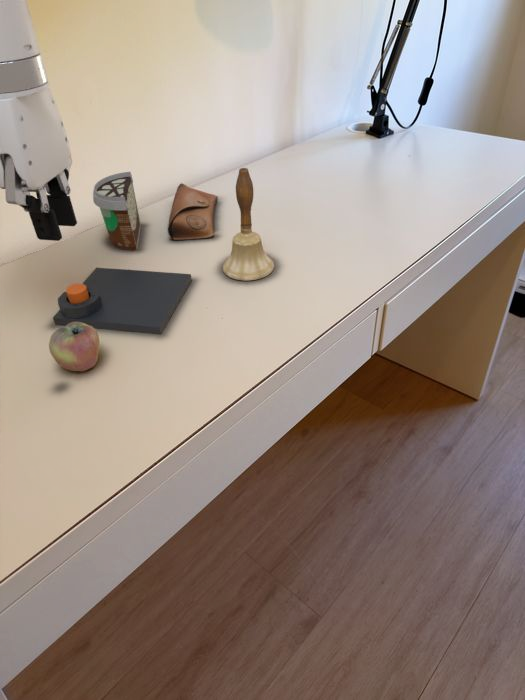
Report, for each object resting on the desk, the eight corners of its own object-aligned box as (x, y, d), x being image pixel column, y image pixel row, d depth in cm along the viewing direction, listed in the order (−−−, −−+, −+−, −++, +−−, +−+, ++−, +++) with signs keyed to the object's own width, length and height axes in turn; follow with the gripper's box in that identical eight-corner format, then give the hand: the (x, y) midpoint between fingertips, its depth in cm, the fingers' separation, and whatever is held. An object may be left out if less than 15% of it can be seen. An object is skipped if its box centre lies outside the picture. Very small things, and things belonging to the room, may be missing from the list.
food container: (108, 225, 99) (95, 173, 93) (141, 222, 100) (130, 170, 93) (100, 257, 90) (85, 201, 83) (136, 254, 90) (124, 198, 84)
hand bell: (243, 250, 89) (236, 156, 79) (284, 263, 85) (282, 165, 75) (212, 272, 84) (200, 173, 74) (254, 286, 80) (247, 185, 70)
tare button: (65, 303, 74) (62, 293, 73) (74, 292, 76) (71, 282, 75) (83, 305, 74) (80, 294, 73) (92, 294, 76) (89, 284, 75)
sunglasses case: (216, 235, 93) (193, 205, 89) (185, 255, 95) (161, 227, 92) (218, 195, 107) (198, 168, 103) (191, 213, 109) (170, 187, 106)
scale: (55, 324, 75) (48, 307, 73) (97, 273, 85) (93, 257, 84) (161, 334, 72) (157, 316, 70) (191, 280, 83) (189, 263, 81)
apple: (48, 388, 64) (32, 351, 61) (65, 347, 70) (52, 311, 67) (97, 386, 64) (84, 349, 61) (110, 345, 70) (99, 309, 67)
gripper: (20, 60, 64) (62, 204, 75) (-73, 95, 51) (-5, 261, 63) (76, 60, 62) (111, 206, 74) (-5, 96, 50) (52, 265, 61)
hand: (57, 230), depth 68 cm, fingers open, 3 cm apart
